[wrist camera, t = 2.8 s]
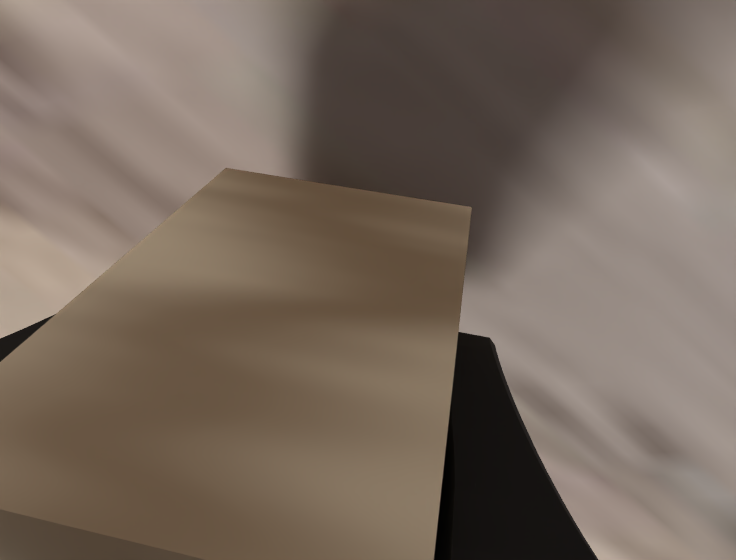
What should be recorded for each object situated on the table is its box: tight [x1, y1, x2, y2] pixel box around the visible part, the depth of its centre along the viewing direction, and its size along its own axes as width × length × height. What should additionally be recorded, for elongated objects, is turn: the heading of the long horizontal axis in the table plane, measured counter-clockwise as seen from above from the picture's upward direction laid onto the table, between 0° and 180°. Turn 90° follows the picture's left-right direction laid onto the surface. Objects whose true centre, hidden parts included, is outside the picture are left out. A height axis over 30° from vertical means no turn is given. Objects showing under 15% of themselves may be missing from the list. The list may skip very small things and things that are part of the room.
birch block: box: [0, 168, 472, 560], centre depth 8 cm, size 4×4×7 cm
